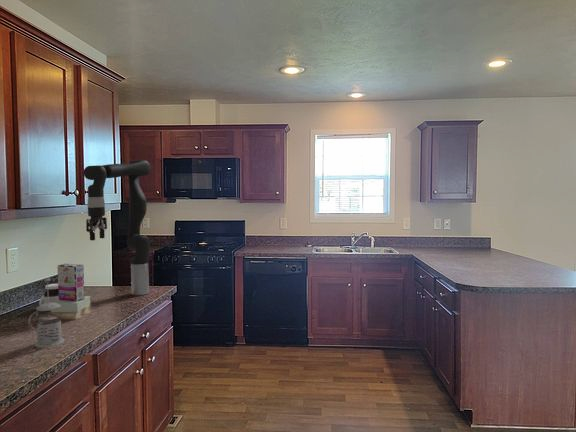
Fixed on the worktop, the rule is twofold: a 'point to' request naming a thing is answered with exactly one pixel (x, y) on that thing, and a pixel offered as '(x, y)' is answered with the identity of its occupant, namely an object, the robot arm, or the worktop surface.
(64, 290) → the candy bar box
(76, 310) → the sage block
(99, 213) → the robot arm
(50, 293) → the spread jar
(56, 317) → the french press
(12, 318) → the worktop surface
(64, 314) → the maple block
